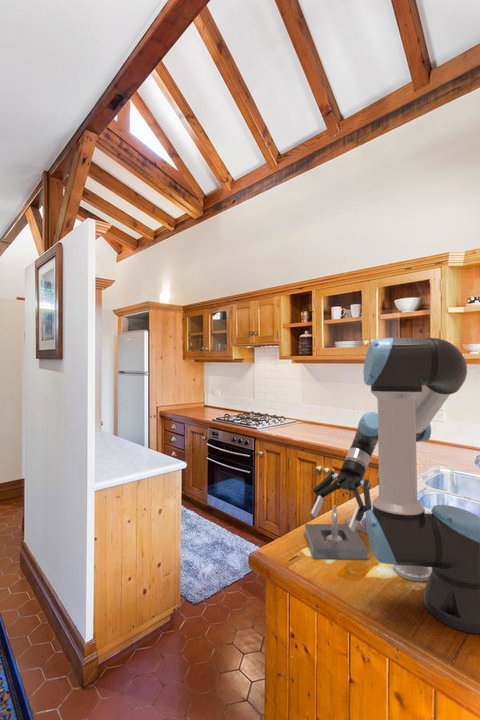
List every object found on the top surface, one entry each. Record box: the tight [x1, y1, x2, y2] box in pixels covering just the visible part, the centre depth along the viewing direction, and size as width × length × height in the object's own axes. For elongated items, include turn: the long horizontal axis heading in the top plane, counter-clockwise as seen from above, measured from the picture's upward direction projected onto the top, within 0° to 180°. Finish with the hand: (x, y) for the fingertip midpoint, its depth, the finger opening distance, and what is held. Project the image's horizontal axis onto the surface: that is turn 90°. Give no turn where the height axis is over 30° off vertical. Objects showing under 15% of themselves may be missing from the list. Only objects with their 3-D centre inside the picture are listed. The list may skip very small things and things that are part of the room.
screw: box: [326, 504, 343, 542], centre depth 117 cm, size 13×5×5 cm
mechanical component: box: [392, 564, 432, 582], centre depth 103 cm, size 10×4×10 cm
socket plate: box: [304, 523, 369, 560], centre depth 117 cm, size 16×16×3 cm
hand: (331, 522), depth 116 cm, fingers open, 13 cm apart
